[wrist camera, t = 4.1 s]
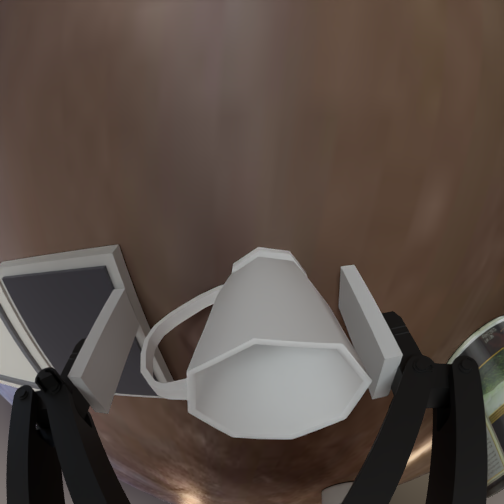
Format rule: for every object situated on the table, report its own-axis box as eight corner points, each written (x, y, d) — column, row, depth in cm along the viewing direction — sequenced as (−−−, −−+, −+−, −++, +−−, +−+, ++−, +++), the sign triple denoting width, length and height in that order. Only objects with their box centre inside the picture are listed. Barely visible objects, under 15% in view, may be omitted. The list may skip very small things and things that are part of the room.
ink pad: (2, 261, 16) (-8, 270, 15) (118, 244, 16) (110, 255, 15) (71, 381, 22) (66, 391, 21) (177, 388, 22) (175, 401, 21)
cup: (334, 313, 18) (368, 424, 11) (184, 342, 19) (162, 449, 12) (319, 209, 15) (375, 312, 8) (138, 253, 16) (77, 360, 9)
